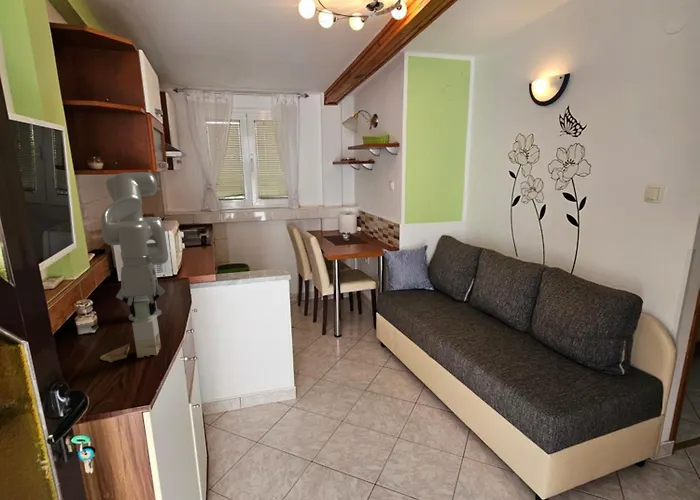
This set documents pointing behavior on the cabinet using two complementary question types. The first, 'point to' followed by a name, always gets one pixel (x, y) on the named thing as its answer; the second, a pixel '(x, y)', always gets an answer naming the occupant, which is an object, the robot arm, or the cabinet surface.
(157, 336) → the tower base
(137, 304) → the green cylinder
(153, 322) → the tower top
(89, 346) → the cabinet surface
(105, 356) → the shard
